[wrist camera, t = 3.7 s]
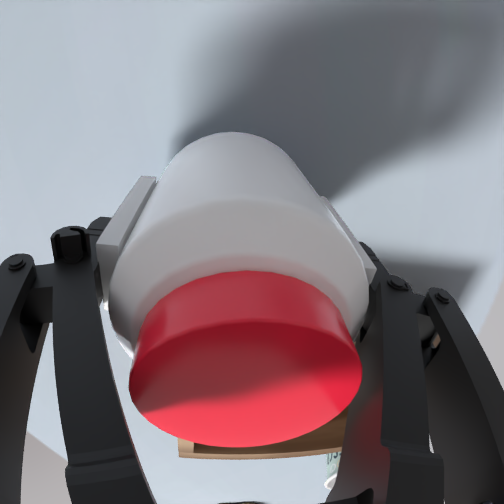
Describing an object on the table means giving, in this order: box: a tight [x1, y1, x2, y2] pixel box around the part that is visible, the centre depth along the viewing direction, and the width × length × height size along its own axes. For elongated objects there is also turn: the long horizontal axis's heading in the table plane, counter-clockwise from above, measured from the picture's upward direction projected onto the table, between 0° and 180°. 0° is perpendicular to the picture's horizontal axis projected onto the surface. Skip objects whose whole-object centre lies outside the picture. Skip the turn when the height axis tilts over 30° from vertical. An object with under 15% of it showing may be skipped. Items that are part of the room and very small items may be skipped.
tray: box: [178, 335, 440, 460], centre depth 23 cm, size 14×24×6 cm, turn 81°
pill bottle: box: [108, 132, 369, 447], centre depth 11 cm, size 8×8×11 cm
